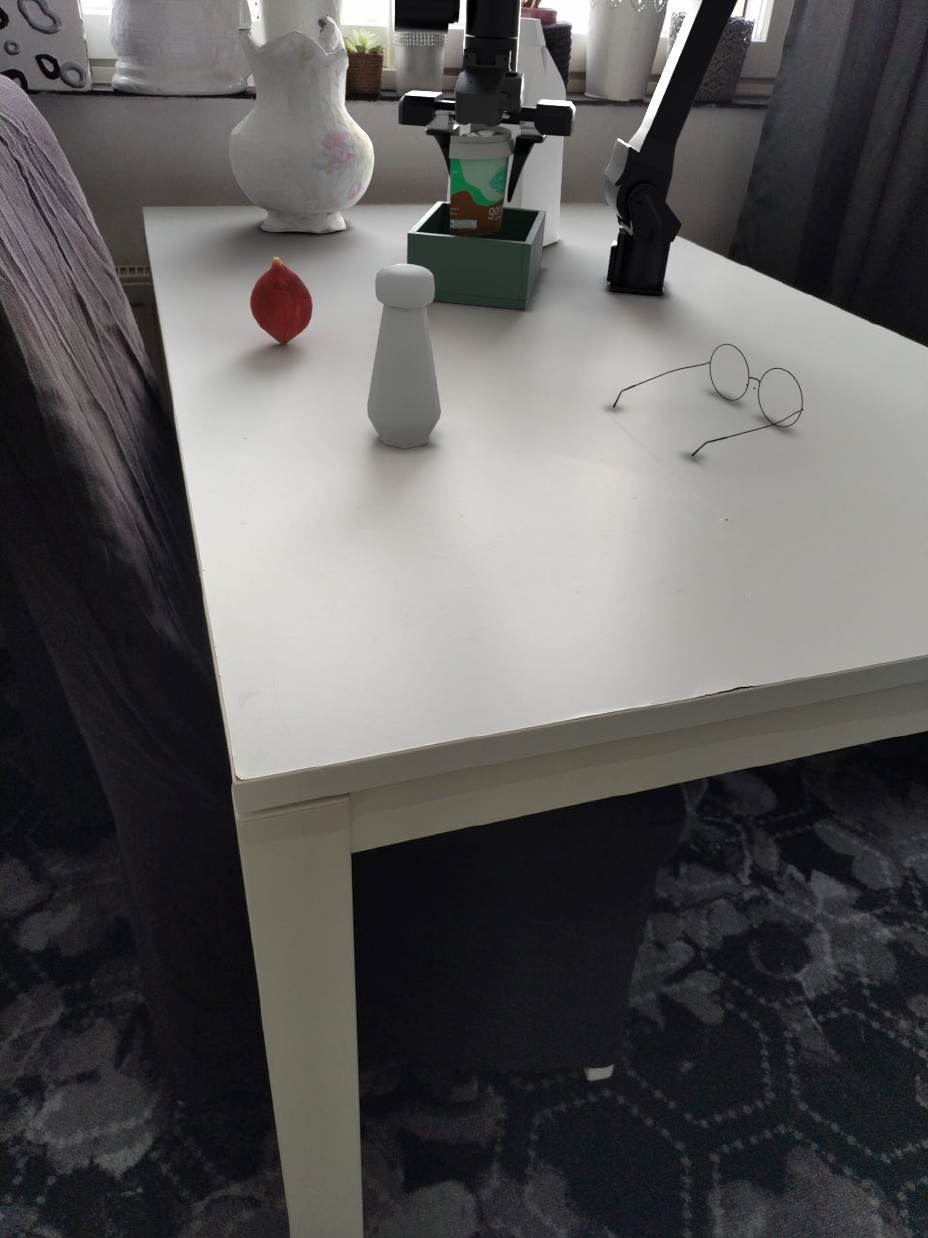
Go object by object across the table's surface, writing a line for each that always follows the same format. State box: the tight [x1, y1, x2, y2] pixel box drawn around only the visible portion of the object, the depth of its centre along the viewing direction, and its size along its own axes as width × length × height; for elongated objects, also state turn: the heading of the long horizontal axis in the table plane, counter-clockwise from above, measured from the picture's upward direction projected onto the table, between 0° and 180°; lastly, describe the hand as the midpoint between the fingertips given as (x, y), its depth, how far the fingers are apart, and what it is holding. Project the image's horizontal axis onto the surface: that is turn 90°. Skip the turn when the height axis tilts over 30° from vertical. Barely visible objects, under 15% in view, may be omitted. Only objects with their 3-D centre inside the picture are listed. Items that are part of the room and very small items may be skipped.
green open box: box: [406, 200, 546, 311], centre depth 105 cm, size 14×18×7 cm
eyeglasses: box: [612, 343, 805, 457], centre depth 74 cm, size 11×13×5 cm
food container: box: [449, 124, 515, 235], centre depth 100 cm, size 12×6×10 cm, turn 169°
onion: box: [249, 256, 314, 345], centre depth 84 cm, size 6×6×8 cm
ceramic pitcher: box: [228, 14, 375, 235], centre depth 120 cm, size 22×20×25 cm
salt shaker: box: [366, 263, 442, 450], centre depth 67 cm, size 6×6×13 cm
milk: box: [445, 17, 567, 247], centre depth 117 cm, size 12×12×26 cm
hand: (483, 199), depth 101 cm, fingers closed on food container, 6 cm apart
